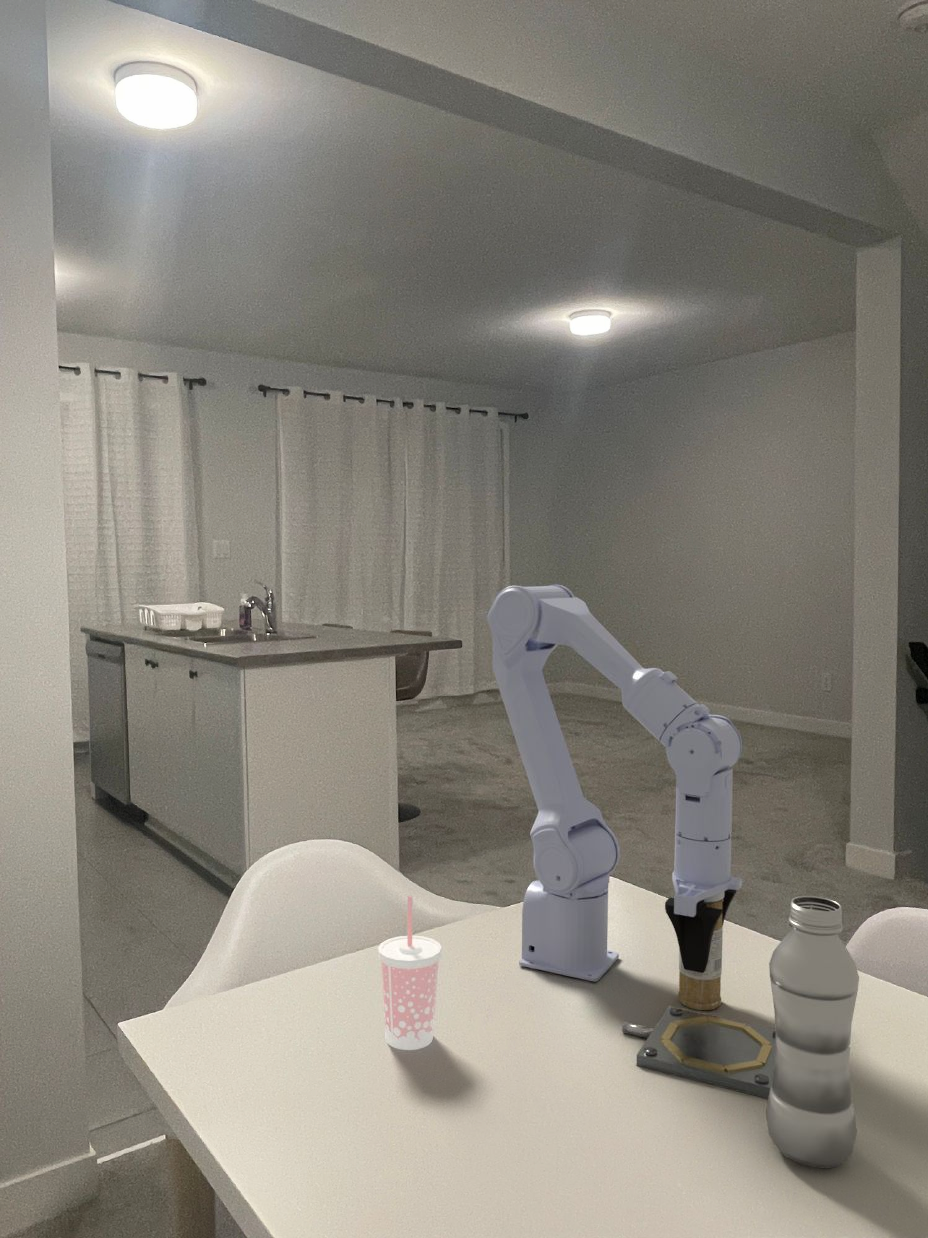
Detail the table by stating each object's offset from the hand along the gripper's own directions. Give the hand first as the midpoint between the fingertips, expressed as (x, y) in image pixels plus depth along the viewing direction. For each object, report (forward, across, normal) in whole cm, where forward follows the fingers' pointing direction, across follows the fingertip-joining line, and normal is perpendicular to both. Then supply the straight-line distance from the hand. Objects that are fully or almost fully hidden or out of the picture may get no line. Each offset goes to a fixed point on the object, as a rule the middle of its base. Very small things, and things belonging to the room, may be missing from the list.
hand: (700, 961), depth 101 cm
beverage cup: (+5, -21, +23) cm, 31 cm away
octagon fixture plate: (+4, -10, -2) cm, 11 cm away
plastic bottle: (+5, -22, -14) cm, 26 cm away
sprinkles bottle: (+5, 0, 0) cm, 5 cm away
